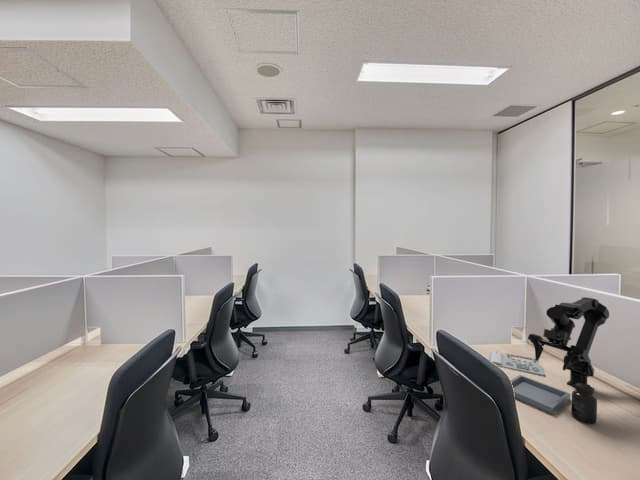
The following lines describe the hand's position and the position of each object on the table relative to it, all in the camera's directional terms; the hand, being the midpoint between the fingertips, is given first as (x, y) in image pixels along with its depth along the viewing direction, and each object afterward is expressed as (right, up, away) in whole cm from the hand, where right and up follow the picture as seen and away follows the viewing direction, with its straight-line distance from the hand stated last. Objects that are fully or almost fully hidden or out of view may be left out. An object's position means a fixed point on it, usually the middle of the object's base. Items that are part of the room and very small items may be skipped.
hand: (549, 365), depth 115 cm
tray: (-3, -15, +4) cm, 15 cm away
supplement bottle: (+4, -15, -11) cm, 19 cm away
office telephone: (+9, -15, +34) cm, 39 cm away
